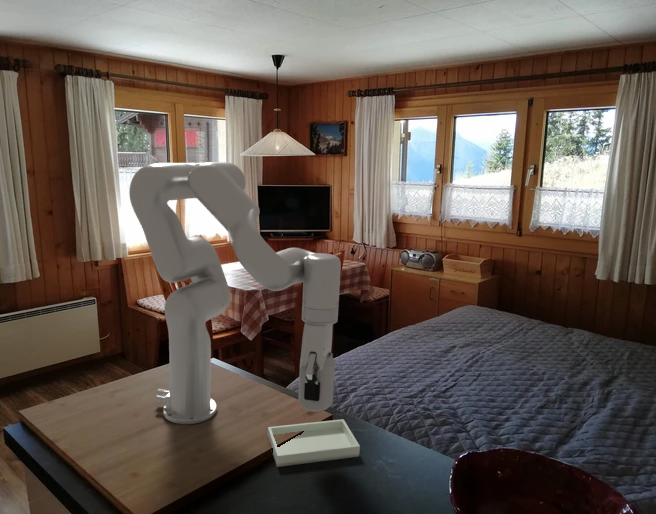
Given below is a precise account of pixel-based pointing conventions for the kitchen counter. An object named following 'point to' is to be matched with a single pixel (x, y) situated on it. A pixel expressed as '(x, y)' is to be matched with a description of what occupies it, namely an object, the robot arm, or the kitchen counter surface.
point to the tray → (314, 443)
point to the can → (325, 386)
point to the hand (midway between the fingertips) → (316, 390)
